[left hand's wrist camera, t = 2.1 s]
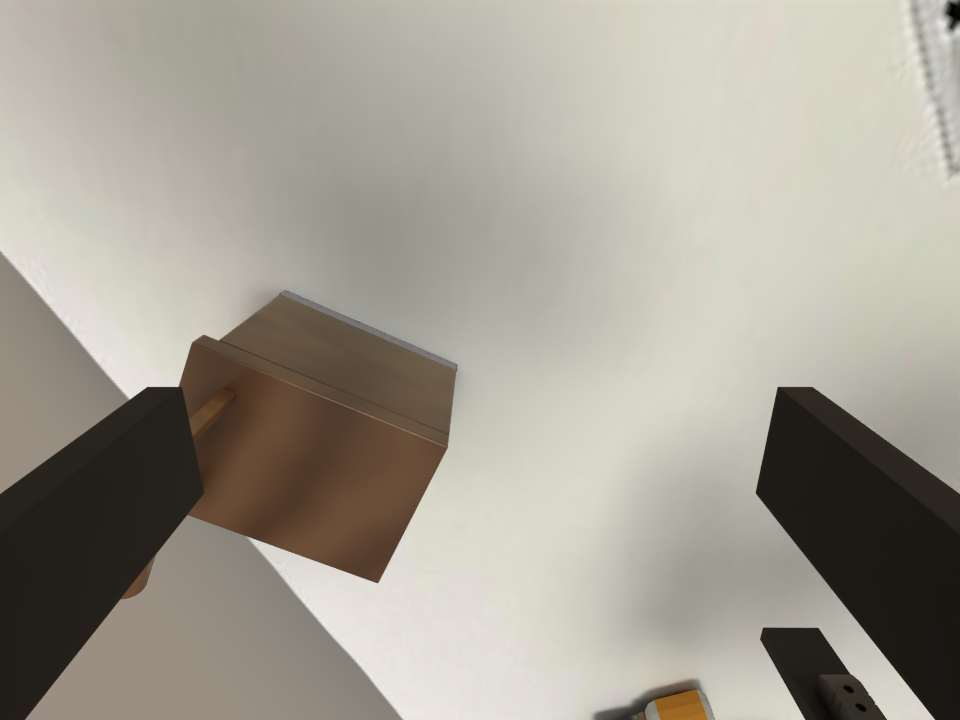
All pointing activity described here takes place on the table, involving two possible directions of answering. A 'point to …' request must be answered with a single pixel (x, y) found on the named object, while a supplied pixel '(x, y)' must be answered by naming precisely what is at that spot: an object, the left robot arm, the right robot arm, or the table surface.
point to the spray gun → (679, 707)
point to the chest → (350, 358)
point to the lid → (301, 461)
